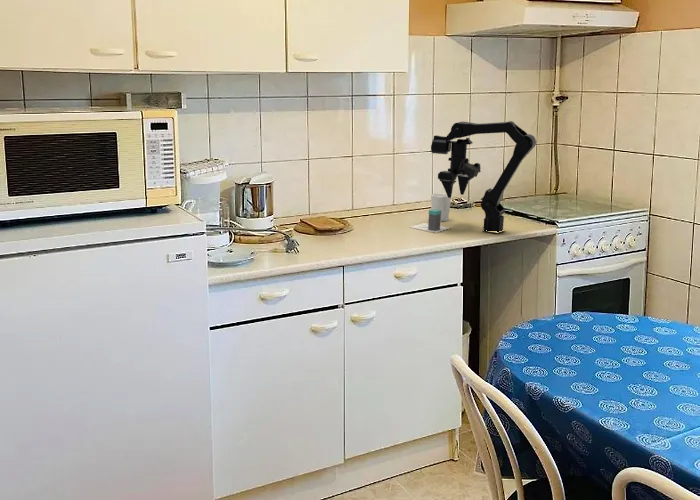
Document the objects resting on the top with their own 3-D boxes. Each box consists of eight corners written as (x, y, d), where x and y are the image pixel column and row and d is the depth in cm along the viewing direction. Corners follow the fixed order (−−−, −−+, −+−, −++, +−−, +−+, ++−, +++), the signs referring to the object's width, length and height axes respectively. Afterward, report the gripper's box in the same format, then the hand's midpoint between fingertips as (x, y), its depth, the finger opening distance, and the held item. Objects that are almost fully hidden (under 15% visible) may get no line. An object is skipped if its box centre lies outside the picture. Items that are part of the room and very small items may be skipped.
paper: (450, 228, 293) (450, 227, 293) (436, 233, 285) (436, 232, 285) (424, 223, 300) (424, 222, 300) (409, 227, 293) (409, 226, 293)
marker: (440, 229, 290) (441, 210, 288) (435, 231, 287) (436, 211, 285) (432, 228, 292) (433, 209, 290) (427, 229, 289) (428, 210, 287)
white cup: (450, 222, 305) (452, 197, 302) (430, 221, 305) (432, 196, 302) (448, 217, 312) (450, 193, 310) (429, 217, 312) (430, 192, 310)
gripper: (464, 160, 278) (461, 202, 282) (489, 155, 292) (486, 196, 296) (438, 156, 284) (435, 198, 288) (464, 152, 298) (461, 192, 302)
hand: (455, 196), depth 294 cm, fingers open, 9 cm apart
